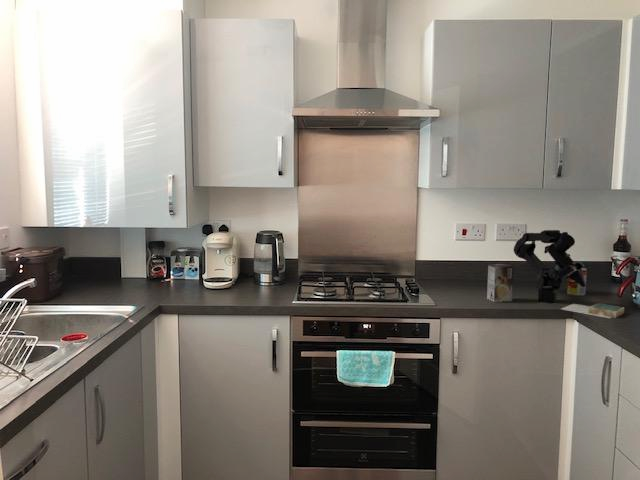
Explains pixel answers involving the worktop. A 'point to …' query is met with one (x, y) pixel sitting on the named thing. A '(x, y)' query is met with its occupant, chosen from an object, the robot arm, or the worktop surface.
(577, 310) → the mat
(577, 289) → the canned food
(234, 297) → the worktop surface
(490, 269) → the coffee box
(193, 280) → the worktop surface
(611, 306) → the plaque
